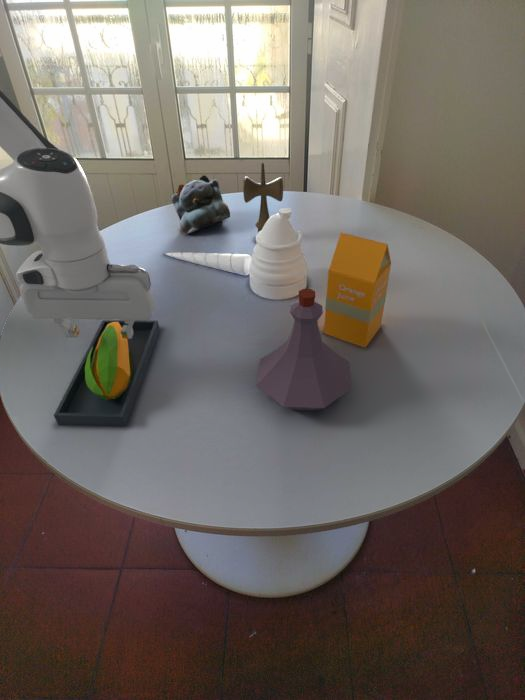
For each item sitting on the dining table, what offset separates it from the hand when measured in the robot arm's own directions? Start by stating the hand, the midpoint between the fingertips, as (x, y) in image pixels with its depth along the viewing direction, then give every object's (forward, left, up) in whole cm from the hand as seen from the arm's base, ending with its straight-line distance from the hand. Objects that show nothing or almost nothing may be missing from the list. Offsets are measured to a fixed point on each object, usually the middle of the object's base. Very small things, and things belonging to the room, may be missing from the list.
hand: (100, 336), depth 80 cm
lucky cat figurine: (+7, +60, -9) cm, 61 cm away
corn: (0, 0, -8) cm, 8 cm away
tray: (0, 0, -9) cm, 9 cm away
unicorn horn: (+12, +38, -9) cm, 41 cm away
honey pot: (+29, +30, -9) cm, 43 cm away
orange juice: (+44, +13, -9) cm, 47 cm away
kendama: (+25, +51, -9) cm, 58 cm away
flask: (+34, -4, -9) cm, 36 cm away
